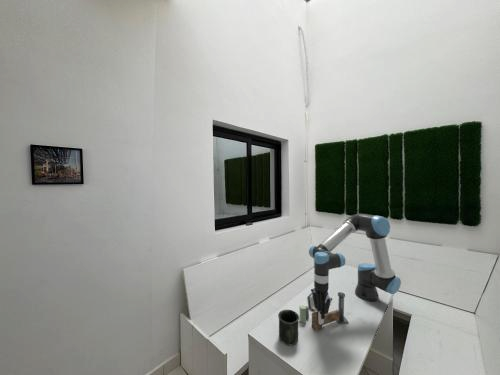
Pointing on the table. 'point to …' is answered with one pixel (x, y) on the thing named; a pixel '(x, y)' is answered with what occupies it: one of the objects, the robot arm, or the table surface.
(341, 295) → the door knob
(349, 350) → the table surface
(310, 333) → the table surface
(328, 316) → the wooden mallet
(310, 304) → the grey arched slab
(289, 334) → the dark green cylindrical container
